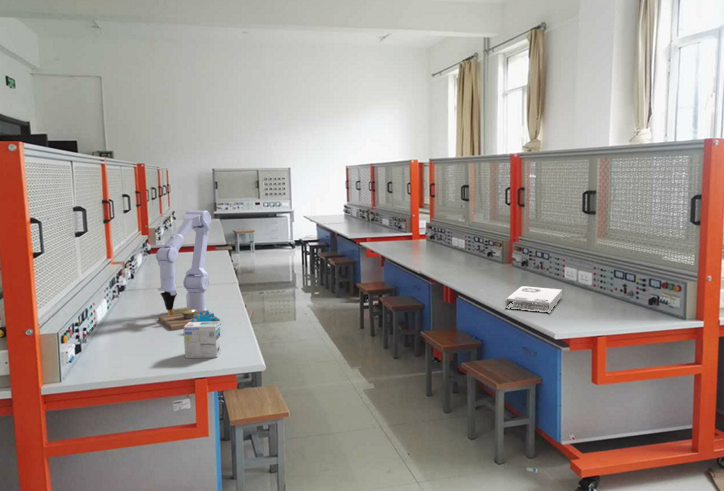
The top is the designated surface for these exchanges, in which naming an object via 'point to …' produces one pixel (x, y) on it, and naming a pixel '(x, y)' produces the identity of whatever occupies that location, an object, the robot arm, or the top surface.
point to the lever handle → (181, 311)
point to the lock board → (181, 320)
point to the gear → (204, 317)
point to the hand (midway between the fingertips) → (169, 309)
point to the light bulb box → (202, 339)
